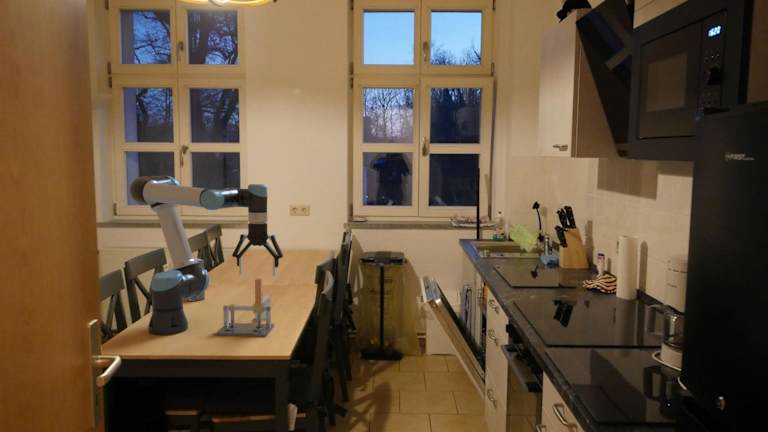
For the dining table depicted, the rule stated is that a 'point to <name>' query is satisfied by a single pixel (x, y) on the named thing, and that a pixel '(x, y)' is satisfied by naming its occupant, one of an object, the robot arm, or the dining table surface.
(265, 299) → the white wedge bracket
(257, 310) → the sliding leg
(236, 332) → the bolt plate
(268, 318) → the grey bracket frame
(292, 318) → the dining table surface
